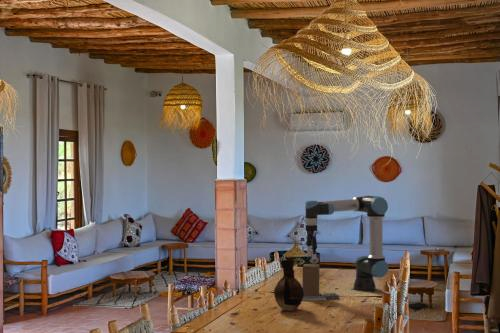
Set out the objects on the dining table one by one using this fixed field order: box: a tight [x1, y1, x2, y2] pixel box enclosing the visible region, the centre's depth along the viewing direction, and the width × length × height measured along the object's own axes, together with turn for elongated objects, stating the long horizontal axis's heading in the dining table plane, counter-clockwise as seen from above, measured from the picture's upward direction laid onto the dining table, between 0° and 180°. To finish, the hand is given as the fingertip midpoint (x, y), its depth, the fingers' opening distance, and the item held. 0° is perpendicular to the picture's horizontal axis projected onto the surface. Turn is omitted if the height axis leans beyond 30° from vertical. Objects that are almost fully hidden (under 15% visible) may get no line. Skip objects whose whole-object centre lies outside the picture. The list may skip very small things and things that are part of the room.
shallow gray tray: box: [302, 291, 327, 302], centre depth 444 cm, size 16×14×2 cm
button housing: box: [322, 292, 340, 300], centre depth 444 cm, size 8×8×2 cm
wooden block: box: [302, 263, 320, 297], centre depth 444 cm, size 10×10×20 cm
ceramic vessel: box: [273, 258, 304, 312], centre depth 408 cm, size 21×18×30 cm
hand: (311, 257), depth 444 cm, fingers open, 13 cm apart
